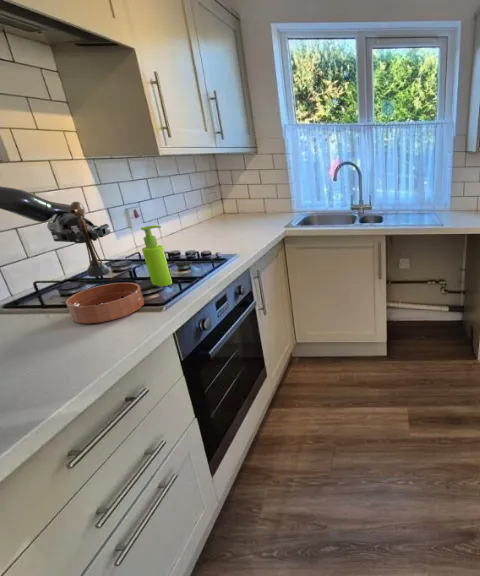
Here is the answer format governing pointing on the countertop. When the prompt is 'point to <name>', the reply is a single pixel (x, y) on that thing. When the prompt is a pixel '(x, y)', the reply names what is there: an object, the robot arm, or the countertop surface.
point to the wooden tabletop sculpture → (89, 243)
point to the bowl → (105, 302)
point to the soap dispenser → (155, 259)
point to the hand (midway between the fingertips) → (89, 237)
